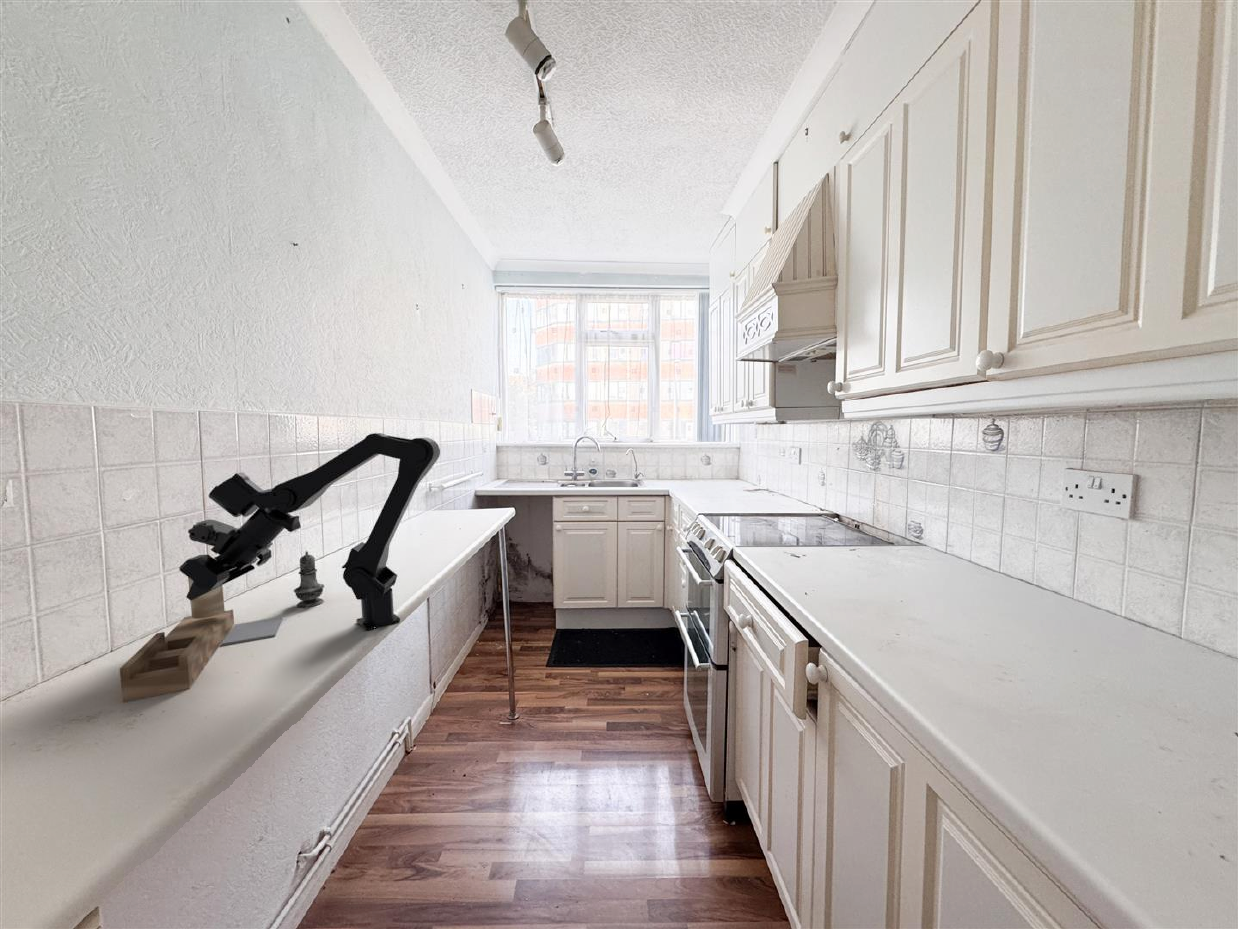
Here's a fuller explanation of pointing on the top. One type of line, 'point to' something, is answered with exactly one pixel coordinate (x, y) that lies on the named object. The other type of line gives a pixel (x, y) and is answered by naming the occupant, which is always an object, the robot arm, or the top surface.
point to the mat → (253, 631)
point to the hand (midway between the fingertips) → (198, 594)
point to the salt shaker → (308, 583)
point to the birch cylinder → (207, 603)
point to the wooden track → (174, 657)
